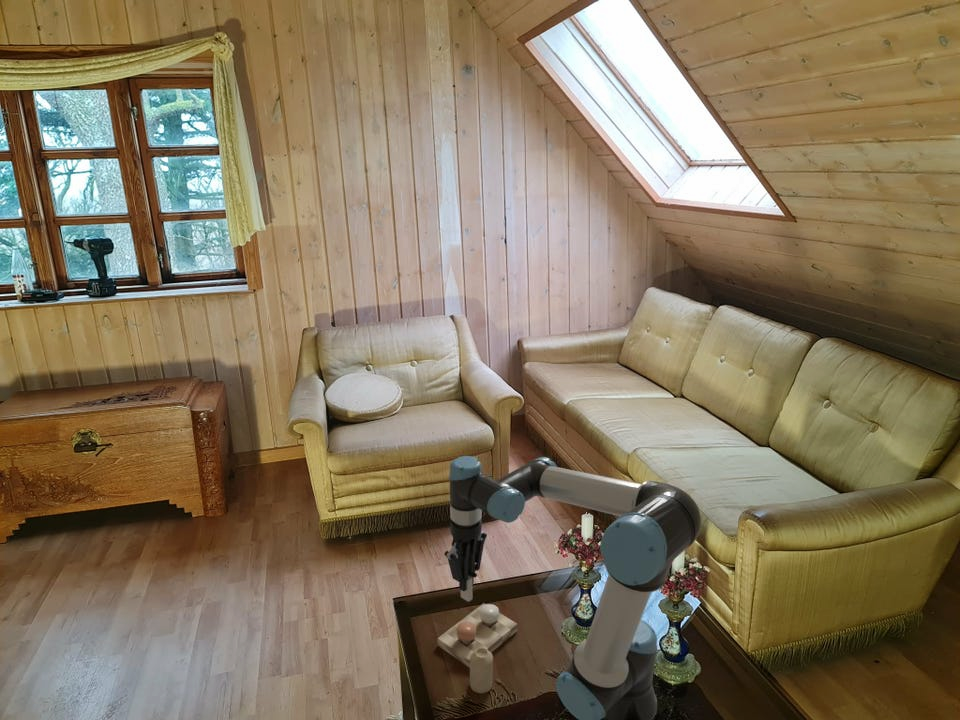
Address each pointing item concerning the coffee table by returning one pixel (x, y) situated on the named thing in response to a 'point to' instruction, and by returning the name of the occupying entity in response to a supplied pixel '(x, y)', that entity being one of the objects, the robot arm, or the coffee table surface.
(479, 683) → the cream bottle
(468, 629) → the pink light bulb
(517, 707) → the coffee table surface
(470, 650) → the cream compartment tray
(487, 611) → the white round piece
